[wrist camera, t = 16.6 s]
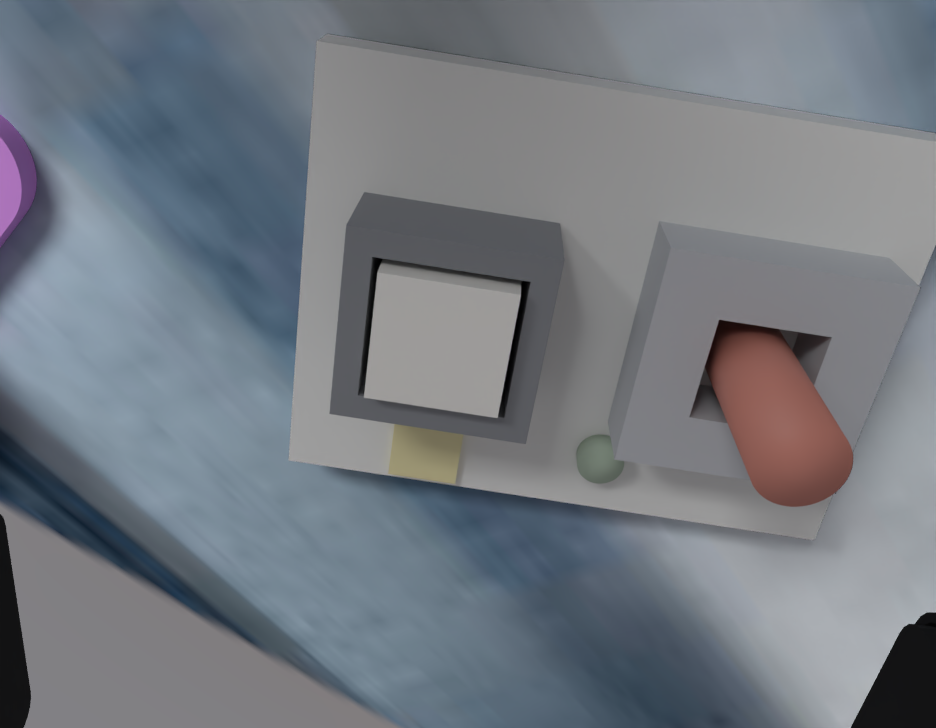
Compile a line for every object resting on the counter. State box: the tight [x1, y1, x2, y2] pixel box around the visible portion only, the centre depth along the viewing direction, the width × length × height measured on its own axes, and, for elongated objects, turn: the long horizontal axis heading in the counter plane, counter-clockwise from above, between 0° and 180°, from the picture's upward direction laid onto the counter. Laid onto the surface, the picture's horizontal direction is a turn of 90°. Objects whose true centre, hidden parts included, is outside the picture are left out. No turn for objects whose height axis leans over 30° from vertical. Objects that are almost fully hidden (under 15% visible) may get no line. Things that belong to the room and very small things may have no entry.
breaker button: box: [364, 259, 521, 418], centre depth 34 cm, size 5×5×4 cm
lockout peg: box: [705, 320, 853, 507], centre depth 32 cm, size 3×3×9 cm
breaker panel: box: [289, 34, 936, 540], centre depth 35 cm, size 18×24×6 cm
